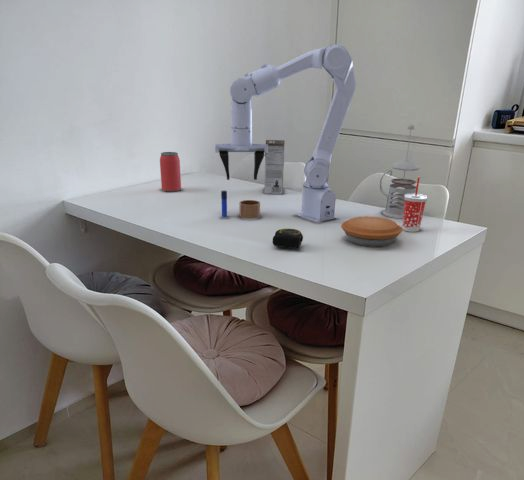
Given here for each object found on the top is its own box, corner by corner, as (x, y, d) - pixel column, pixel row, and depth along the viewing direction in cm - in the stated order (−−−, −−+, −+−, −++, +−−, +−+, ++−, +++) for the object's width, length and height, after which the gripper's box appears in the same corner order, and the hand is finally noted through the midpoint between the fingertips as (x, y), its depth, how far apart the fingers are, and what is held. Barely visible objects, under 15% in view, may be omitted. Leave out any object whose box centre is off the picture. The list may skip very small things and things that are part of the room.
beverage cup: (413, 225, 152) (421, 174, 146) (426, 231, 148) (435, 178, 141) (395, 227, 150) (402, 175, 144) (407, 233, 146) (415, 179, 139)
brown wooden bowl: (264, 217, 156) (264, 203, 154) (248, 221, 153) (248, 206, 151) (251, 213, 160) (251, 199, 158) (235, 216, 157) (235, 201, 155)
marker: (228, 217, 156) (228, 190, 152) (225, 219, 154) (224, 192, 151) (223, 216, 156) (223, 190, 153) (220, 218, 155) (220, 191, 151)
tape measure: (271, 249, 131) (271, 234, 130) (278, 241, 137) (278, 226, 135) (298, 252, 130) (299, 237, 128) (304, 244, 136) (305, 229, 134)
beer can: (185, 189, 186) (183, 153, 180) (172, 193, 181) (170, 155, 175) (170, 187, 189) (168, 150, 183) (157, 190, 184) (155, 153, 178)
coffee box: (264, 187, 191) (265, 139, 183) (282, 188, 191) (284, 139, 183) (264, 193, 183) (265, 143, 175) (283, 194, 183) (285, 144, 175)
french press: (414, 219, 158) (428, 127, 146) (374, 215, 161) (384, 125, 149) (416, 211, 166) (430, 123, 154) (378, 207, 169) (389, 121, 157)
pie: (359, 252, 131) (362, 232, 128) (329, 234, 143) (330, 215, 141) (413, 246, 136) (416, 226, 133) (379, 229, 148) (381, 211, 146)
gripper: (214, 129, 143) (216, 182, 149) (269, 129, 144) (268, 181, 150) (214, 126, 149) (216, 176, 155) (267, 126, 150) (266, 176, 157)
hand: (241, 179), depth 153 cm, fingers open, 7 cm apart
